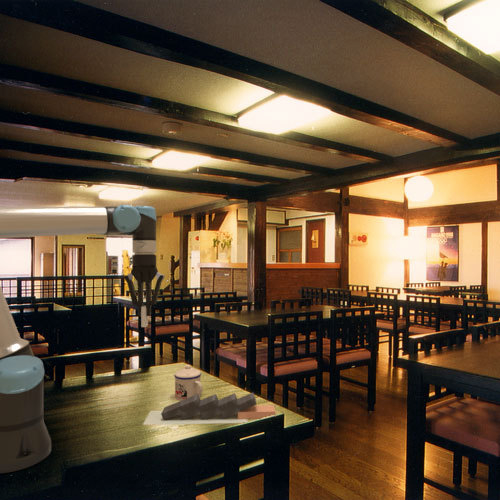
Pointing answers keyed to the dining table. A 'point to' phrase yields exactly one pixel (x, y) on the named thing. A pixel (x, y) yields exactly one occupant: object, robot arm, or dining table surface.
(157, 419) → the board
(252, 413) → the domino
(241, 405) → the domino
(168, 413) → the domino
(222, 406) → the domino
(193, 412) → the domino
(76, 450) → the dining table surface
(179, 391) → the teacup with lid
